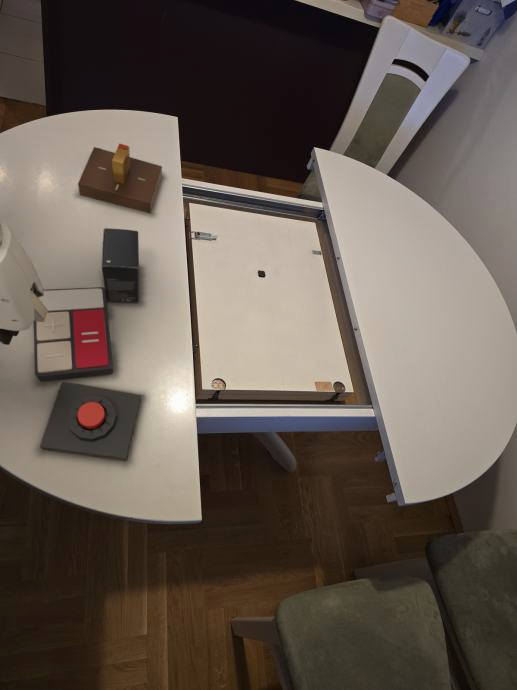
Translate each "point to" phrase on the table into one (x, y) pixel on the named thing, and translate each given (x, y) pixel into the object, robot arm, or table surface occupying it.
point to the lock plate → (131, 194)
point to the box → (121, 265)
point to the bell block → (102, 440)
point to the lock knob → (121, 163)
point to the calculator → (73, 335)
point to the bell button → (91, 415)
